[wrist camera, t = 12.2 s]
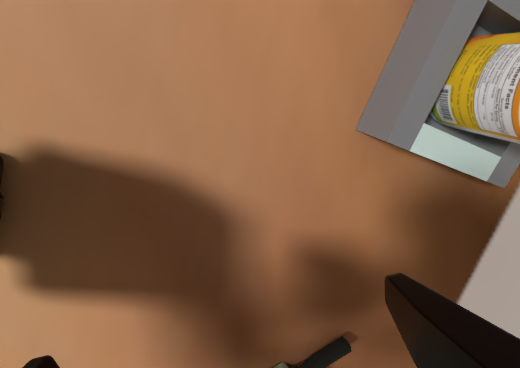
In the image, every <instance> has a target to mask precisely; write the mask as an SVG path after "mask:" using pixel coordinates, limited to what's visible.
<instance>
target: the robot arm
mask: <svg viewBox="0 0 520 368" xmlns="http://www.w3.org/2000/svg"><path fill="white" fill-rule="evenodd" d="M2 170H3V159H2V157H1V156H0V183H1V177H2ZM3 199H4V197H3V195H2V194H1V192H0V218H1V211H2V205H3ZM385 301H386V304H387V307H388V309H389V311H390V313H391V315H392V317H393V320H394V322H395V324H396V326H397V328H398V330H399V332H400V334H401V336H402V338H403V340H404V342H405V344H406V346H407V349H408V351H409V353H410V355H411V357H412V359H413V361H414V363H415V364H416V366H417V368H520V339H519V338H517V337H515V336H513V335H512V334H510V333H508V332H506V331H504V330H503V329H501V328H499V327H497V326H495V325H494V324H492V323H490V322H488V321H487V320H485V319H483V318H481V317H479V316H478V315H476V314H474V313H472V312H470V311H469V310H467V309H465V308H463V307H461V306H460V305H458V304H456V303H454V302H452V301H451V300H449V299H447V298H445V297H443V296H442V295H440V294H438V293H436V292H435V291H433V290H431V289H429V288H427V287H426V286H424V285H422V284H420V283H418V282H417V281H415V280H413V279H411V278H409V277H408V276H406V275H404V274H402V273H396V274H392V275H388V276H386V277H385ZM22 368H60V367H59V366H58V364H57V363H56V362H55V360H54V359H53V358H52V357H51V356H49V355H46V356H42V357H38V358H34V359H32V360H30V361H29V362H28V363H27V364H26V365H25V366H24V367H22Z"/></svg>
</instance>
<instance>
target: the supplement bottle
mask: <svg viewBox="0 0 520 368" xmlns="http://www.w3.org/2000/svg"><path fill="white" fill-rule="evenodd" d="M429 114H430V116H431V117H432V118H433V119H434V120H435V121H437V122H438V123H440V124H442V125H445V126H449V127H452V128H456V129H460V130H464V131H469V132H473V133H477V134H481V135H485V136H489V137H493V138H497V139H502V140H506V141H510V142H514V143H518V144H520V32H517V33H506V34H494V35H483V36H474V37H468V39H467V41H466V43H465V45H464V47H463V49H462V51H461V53H460V55H459V57H458V58H457V60H456V62H455V64H454V66H453V68H452V70H451V72H450V74H449V76H448V78H447V80H446V82H445V84H444V85H443V87H442V89H441V91H440V93H439V95H438V97H437V99H436V101H435V103H434V105H433V107H432V109H431V111H430V112H429Z"/></svg>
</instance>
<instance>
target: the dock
mask: <svg viewBox="0 0 520 368" xmlns="http://www.w3.org/2000/svg"><path fill="white" fill-rule="evenodd" d="M517 32H520V0H415V2H414V4H413V6H412V8H411V10H410V12H409V15H408V17H407V19H406V21H405V23H404V25H403V28H402V30H401V32H400V34H399V36H398V38H397V41H396V43H395V45H394V47H393V49H392V52H391V54H390V56H389V58H388V60H387V62H386V65H385V67H384V69H383V71H382V73H381V75H380V78H379V80H378V82H377V84H376V86H375V88H374V91H373V93H372V95H371V97H370V99H369V101H368V104H367V106H366V108H365V110H364V112H363V114H362V117H361V119H360V121H359V123H358V125H357V127H356V130H358V131H360V132H363V133H365V134H368V135H370V136H373V137H375V138H378V139H380V140H383V141H385V142H388V143H390V144H393V145H395V146H398V147H400V148H403V149H406V150H408V151H411V152H413V153H416V154H418V155H421V156H423V157H426V158H428V159H431V160H433V161H436V162H438V163H441V164H443V165H446V166H448V167H451V168H454V169H456V170H459V171H461V172H464V173H466V174H469V175H471V176H474V177H476V178H479V179H481V180H484V181H486V182H489V183H492V184H494V185H497V186H499V187H502V188H505V186H506V185H507V183H508V181H509V180H510V178H511V177H512V175H513V173H514V172H515V170H516V169H517V167H518V165H519V164H520V144H518V143H514V142H510V141H506V140H502V139H497V138H493V137H489V136H485V135H481V134H477V133H473V132H469V131H464V130H460V129H456V128H452V127H449V126H445V125H442V124H440V123H438V122H437V121H435V120H434V119H433V118H432V117H431V116H430V114H429V112H430V111H431V109H432V107H433V105H434V103H435V101H436V99H437V97H438V95H439V93H440V91H441V89H442V87H443V85H444V84H445V82H446V80H447V78H448V76H449V74H450V72H451V70H452V68H453V66H454V64H455V62H456V60H457V58H458V57H459V55H460V53H461V51H462V49H463V47H464V45H465V43H466V41H467V39H468V37H474V36H483V35H494V34H506V33H517Z"/></svg>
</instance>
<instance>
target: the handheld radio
mask: <svg viewBox="0 0 520 368" xmlns="http://www.w3.org/2000/svg"><path fill="white" fill-rule="evenodd" d="M350 352H351V346H350V344H349V343H348V341H347V340H346V339H345V338H344V337H343V336H342V337H341V338H339V339H338V340H336V341H335V342H333V343H331V344H330V345H328V346H327V347H325V348H324V349H322V350H321V351H319V352H318V353H316V354H314V355H313V356H311V357H310V358H308V359H307V360H305V363H304V364H302V365H301V366H299V367H297V366H296V367H294V368H326V367H327V366H329V365H330V364H332V363H334V362H335V361H337V360H338V359H340V358H342V357H343V356H345V355H346V354H348V353H350ZM273 368H289V367H288V366H287V365H286V364H285V363H284V362H281V363H280V364H278V365H276V366H275V367H273Z"/></svg>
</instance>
